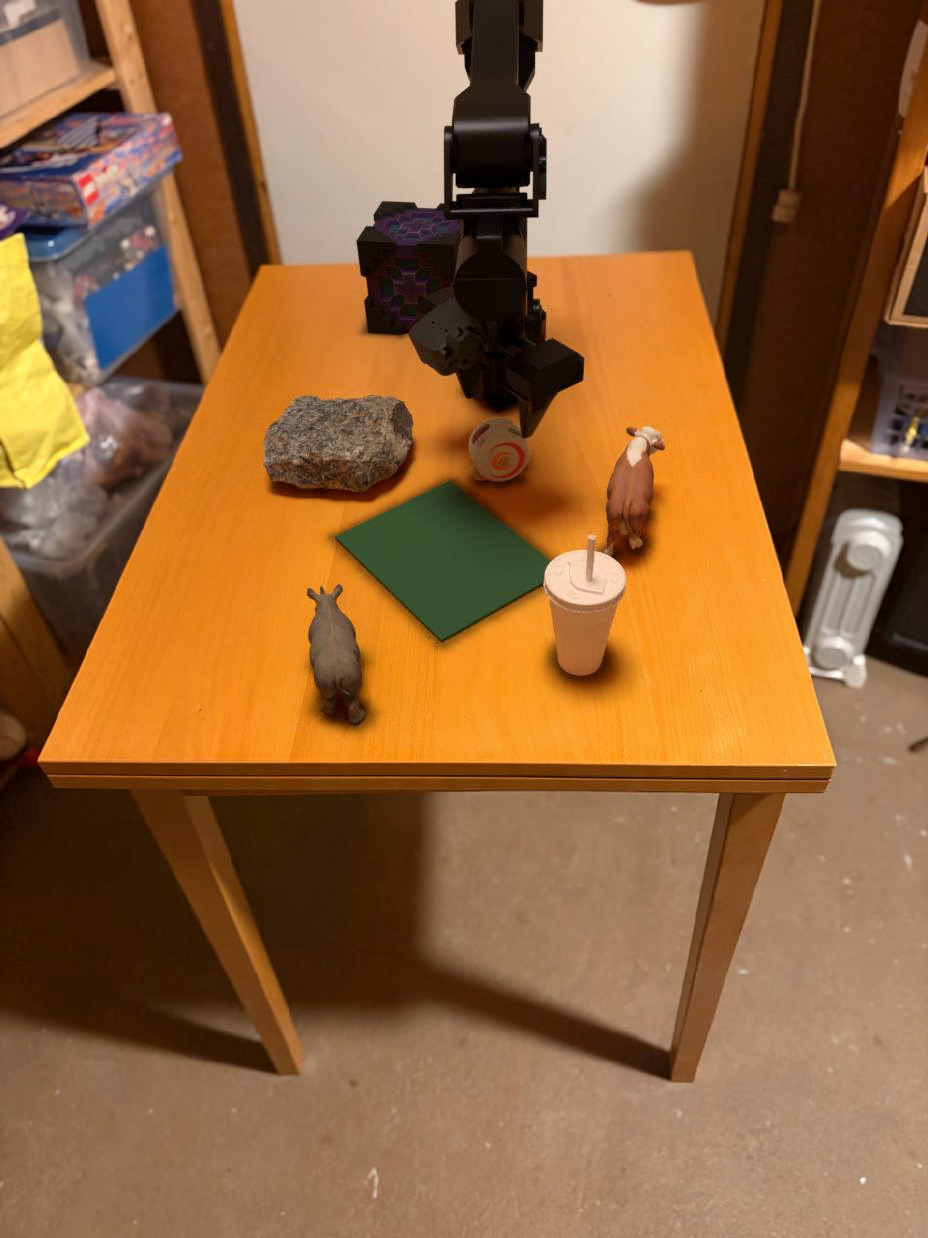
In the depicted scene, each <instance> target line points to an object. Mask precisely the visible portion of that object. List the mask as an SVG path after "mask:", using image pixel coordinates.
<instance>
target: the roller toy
mask: <svg viewBox="0 0 928 1238" xmlns="http://www.w3.org/2000/svg"><path fill="white" fill-rule="evenodd" d="M468 453H469V454H470V458H471V460H472V462H473V465H472V466H471V467H470V471H469V472H470V476H471V477H472V478H473V480H475V481H478V482H484V481H486V480H487V481H491V482H494V483H495V482H496V483H500V482H501V483H502V482H507V481H509V480H512V479H514V478H516V477H517V476H519V475H520V474H521V473H522V471H524V469H525V468H526V467H527V465H528V463H529V459H530V457H531V456H530V455H531V453H530V446H529V445H528V443H527V440H526V439H524V438H523V437H522V435H521V429H520V426H519V425H518V424H517V423H516V422H515V421H513V420H511V419H509V418H507V417H493V418H489V419H487V420H485V421H483V422H481V423H480V424H479V425H477V427H475V429H474V430H473V431H472V433H471V434H470V436H469V439H468Z"/></svg>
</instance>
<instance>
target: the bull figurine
mask: <svg viewBox="0 0 928 1238" xmlns="http://www.w3.org/2000/svg"><path fill="white" fill-rule="evenodd" d="M625 430H626V434H627V435H629V436H630V437H633V439H632V440H631V441H630V442H629V443H628V444H627V445H626V447H625V449H624V451H623V452H622V453H621V454H620V456H619V457H618V458H617V460H616V462H615V465H614V468H613V470H612V472H611V474H610V478H609V482H608V484H607V487H606V498H607V502H606V504H605V513H606V522H607V526H608V527H607V531H608V532H607V536H606V547H605V549H604V550H603V554H606V555H608V556H610V557H612V556H613V555H614V548H613V547H614V543H615V541H616V538H617V533H618V531H619V532H620V534H621V535H623V536H628V535H629V538H628V542H629V546H630V547H631V549H632V550H635V549H636V548H637V549H640V547H642V546H643V545H644V544H643V543H644V542H643V540H642V539H641V538H640V537H641V535H642V529H641V528H642V526H644V524H645V522H646V520H647V517H648V515H649V512H650V506H651V505H652V503H653V499H654V479H655V471H654V466H653V463H652V461H651V459H650V457H651V456H652V455H654V454H656V453H657V452H658V451H662V452H663V451H665V448H666V445H665V440H664V439H663V438H662V437H663V436H662V433H661V432H659V431H658V430H657V429H655V428H653V427H652V426H650V425H646V426H643V427H642V428H641V429H640V430H639V429H637V427H633V426H628V427H626V429H625Z"/></svg>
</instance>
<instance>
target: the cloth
mask: <svg viewBox="0 0 928 1238" xmlns="http://www.w3.org/2000/svg"><path fill="white" fill-rule="evenodd" d="M334 539H335V540H336V541H337V542H339V544H340V545H341V546H342V547H343V548H344V549H346V551H347V552H348V553H350V555H351V556H352V557H353V558H355V560H356V561H358V562H359V563H360V564H361V566H363V567H364V568H365V570H367V571H368V572H369V573H370V574H371V575H372V576H373V578H375V579H376V580H377V581H378V582H379V583H380V584H381V585H382V586H383V587H384V588H385V589H386V590H387V591H388V592H389V593H390V594H391V595H393V597H394V598H395V599H397V600H398V601H399V602H400V604H401V605H403V607H405V608H406V609H407V611H408V612H409V613H411V614H412V615H413V616H414V617H415V618H416V619H417V620H418V621H419V622H420V623H421V624H422V625H423V626H424V627H425V628H426V629H427V630H428V631H429V632H430V633H431V634H433V636H435V638H436V639H438V641H440V642H441V643H443V642H445V641H446V640H448V639H450V638H452V637H454V636H456V635H457V634H458V633H461V632H462V631H465V630H466V629H468V628H469V627H471V626H473V625H474V624H476V623H478V622H480V621H482V620H483V619H485V618H487V617H488V616H491V615H492V614H494V613H495V612H497V611H500V610H501V609H503V608H504V607H506V606H508V605H510V604H512V603H513V602H515V601H516V600H518V599H520V598H522V597H524V596H525V595H528V594H529V593H531V592H533V591H534V590H536V589H538V588H540V587H542V586H544V585H543V583H544V577H545V570H546V568H547V566H548V565H549V563H550V562H551V561H552V560H551V559H549V558H548V557H546V556H545V555H544V554H543V553H542V552H540V551H539V550H538V549H537V548H535V547H534V546H533V545H532V544H530V543H529V542H528V541H527V540H525V539H524V538H523V537H522V536H520V535H519V534H518V533H517V532H515V531H514V530H512V528H510V527H509V526H508V525H506V524H505V523H504V522H503V521H501V520H500V519H499V518H498V517H497V516H495V515H494V514H493V513H492V512H490V511H489V510H488V509H486V508H485V507H484V506H483V505H481V504H480V503H479V502H478V501H476V500H475V499H474V498H472V496H470V495H469V494H467V493H466V492H465V491H464V490H463V489H461V488H460V487H459V486H458V485H456V484H455V483H454V482H453V481H451V480H448V481H446V482H444V483H442V484H439V485H437V486H435V487H433V488H432V489H431V488H430V489H429V490H428V491H425V492H422V493H421V494H418V495H417V496H415V497H413V498H411V499H409V500H407V501H405V502H403V503H400V504H399V505H397V506H394V507H392V508H390V509H388V510H386V511H384V512H382V513H380V514H378V515H375V516H374V517H372V518H370V519H367V520H365V521H364V522H361V523H359V524H357V525H355V526H353V527H351V528H348V529H347V530H345V531H343V532H341V533H339V534H337V535H335V536H334Z"/></svg>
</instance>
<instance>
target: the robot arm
mask: <svg viewBox="0 0 928 1238" xmlns="http://www.w3.org/2000/svg"><path fill="white" fill-rule="evenodd" d="M454 17H455V19H454V21H455V48H456V52H457V55H458V56H463V60H464V61H463V64H464V70H465V74H466V77H467V79H468V81H469V86H467V87H466V88H465V89H463V90H462V91H461V92H460V93H458V94H457V95H456V96H455V97H454V99H453V105H452V115H451V125H444V127H443V128H444V129H443V203H444V219H445V220H458V219H460V223H461V241H460V244H459V248H458V255H457V263H456V270H455V276H454V277H453V281H454V282H452V283H451V286H450V287H447V288H445V289H442V290H440V291H437V292H434V293H432V294H429V295H427V296H424V297H422V299H421V301H420V302H419V304H418V306H417V307H416V319H417V323H416V324H415V325H414V326H413V327H412V328H411V329H410V330H408V335H407V336H408V337H409V339H410V341H411V343H412V345H413V347H414V350H415V351H416V353H417V356H418V358H419V360H420V361H421V363H423V364H424V365H427V366H428V367H430V368H431V369H433V370H435V372H436V373H437V374H439V375H440V376H442V377H449V376H452V375H454V374H455V375H456V379H457V380H458V384H459V386H460V388H461V390H462V393H463V396H464V398H465V399H467V400H470V399H472V398H474V397H475V398H476V399H478V400H479V401H481V402H482V403H484V404H485V405H487V407H490V408H491V409H492V410H493V411H495V412H499V413H500V412H502V411H505V410H507V409H509V408H512V407H515V406H517V408H518V409H517V410H518V418H519V420H518V421H519V428H520V430H521V435H522V437H523V438H524V439H525V440H526V439H528V438H530V437H532V436H534V434H535V432H536V430H537V428H538V427H539V425H540V423H541V421H542V420H543V418H544V416H545V415H546V412H547V410H548V409H549V407H550V406H551V404H552V402H553V401H554V400H555V398H556V396H557V395H558V394H559V393H560V392H562V391H565V390H567V389H569V388H571V387H573V386H576V385H578V384H579V383H581V382H583V381H584V375H585V357H584V356H583V355H582V354H580V353H579V352H578V351H576V350H574V349H572V348H571V347H569V346H567V345H566V344H564V343H562V342H560V341H559V340H557V339H555V338H554V337H552V338H549V339H547V312H546V310H544V309H543V306H542V304H541V298H534V289H535V288H537V287H538V275H537V274H535V273H533V272H531V271H529V270H528V219H539V217H540V201H547V185H548V183H547V171H548V168H547V167H548V166H547V165H548V161H547V160H548V159H547V158H548V149H547V148H548V139H547V138H546V136H545V135H544V134H543V127H542V126H540V122H531V121H532V119H531V118H532V96H531V95H530V94H529V93H528V90H529V88H530V86H531V84H532V82H533V80H534V78H535V75H536V53H543V50H544V0H456V1H455V2H454ZM531 173H532V198H528V197H529V196H528V192H526V191H521V188H526V187H529V186H530V185H531ZM454 175H455V176H454ZM454 177H455V178H454ZM454 184H455V185H454ZM454 186H455V187H456V188H457V189H461V190H462V189H463V190H465V189H466V190H467V189H473V190H472V191H471V193H457V194H455V200H453V199H454V194H453V193H454ZM546 339H547V340H546Z"/></svg>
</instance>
